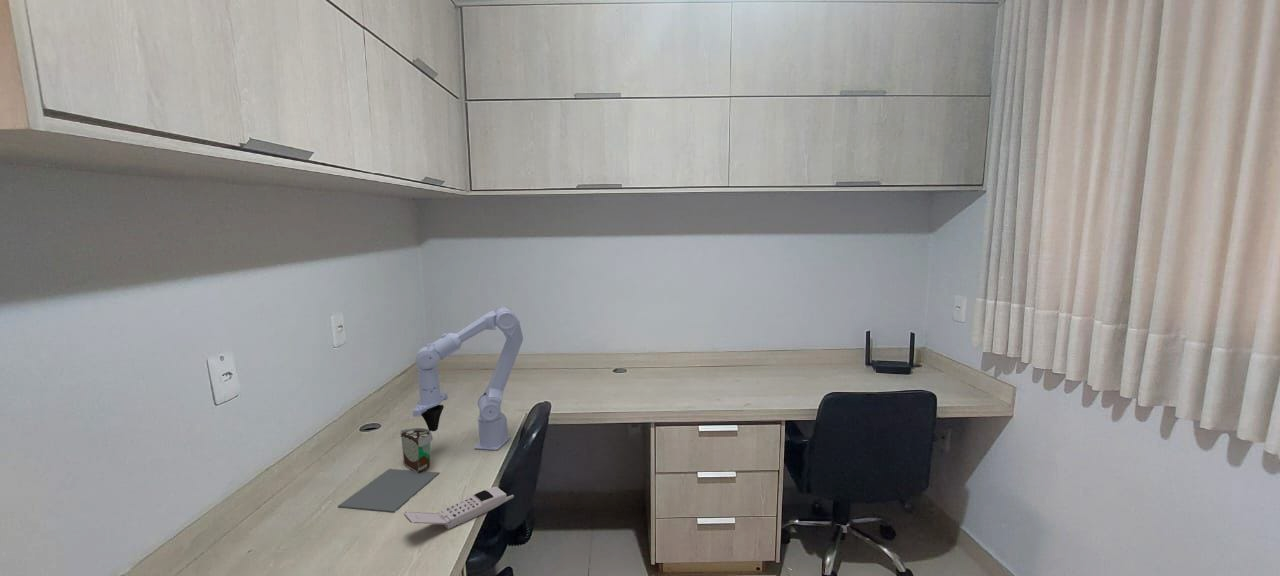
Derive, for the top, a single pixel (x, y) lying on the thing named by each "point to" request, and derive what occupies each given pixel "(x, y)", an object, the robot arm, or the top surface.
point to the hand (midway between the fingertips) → (433, 430)
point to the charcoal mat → (389, 490)
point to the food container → (416, 448)
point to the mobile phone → (462, 509)
